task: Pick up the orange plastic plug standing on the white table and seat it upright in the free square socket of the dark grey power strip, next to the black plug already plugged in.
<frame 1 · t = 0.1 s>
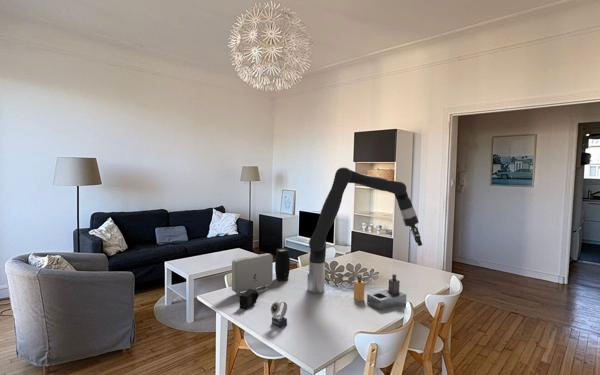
hand: (419, 243, 182), 31 cm above the table, tool tilted 20°, fingers open, 8 cm apart
network device: (252, 290, 192), on the table
portable speaker: (282, 279, 213), on the table
orange plug: (358, 299, 182), on the table
twin plug: (393, 298, 180), point 2 cm above the table, touching pdu strip
watch: (279, 325, 151), on the table
digital camera: (249, 306, 171), on the table
pdu strip: (386, 303, 178), on the table
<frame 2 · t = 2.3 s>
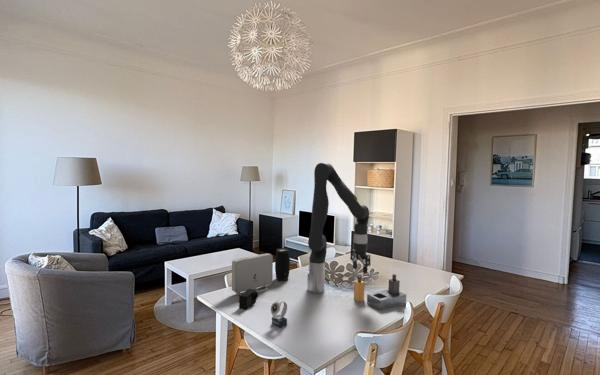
hand: (359, 270, 181), 16 cm above the table, tool pointing down, fingers open, 8 cm apart
nothing on the table moved.
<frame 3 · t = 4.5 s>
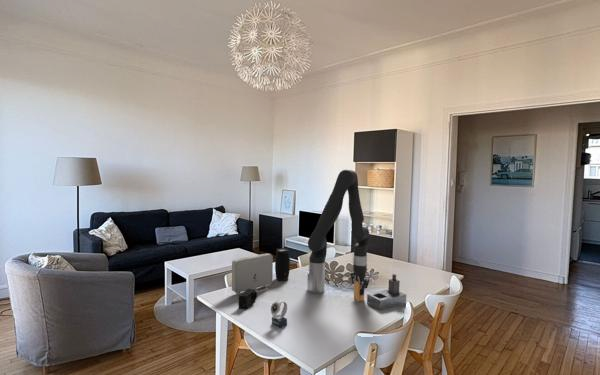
hand: (359, 293, 182), 3 cm above the table, tool pointing down, fingers closed on orange plug, 4 cm apart
orange plug: (358, 299, 182), on the table, touching gripper
everything else where it was.
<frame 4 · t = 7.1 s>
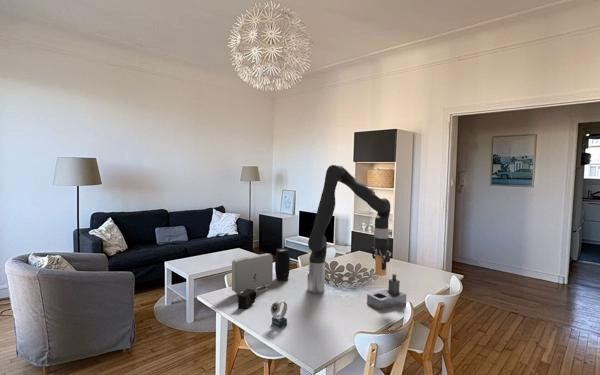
hand: (380, 268, 174), 20 cm above the table, tool pointing down, fingers closed on orange plug, 4 cm apart
orange plug: (380, 274, 174), point 17 cm above the table, touching gripper
everything else where it was.
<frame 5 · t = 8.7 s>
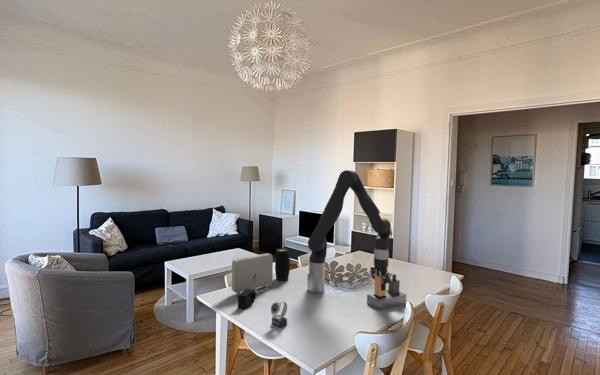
hand: (380, 288, 175), 9 cm above the table, tool pointing down, fingers closed on orange plug, 4 cm apart
orange plug: (380, 294, 175), point 6 cm above the table, touching gripper
when the fingers open (6 cm above the table, at t = 9.9 s): orange plug stays where it is, resting on pdu strip.
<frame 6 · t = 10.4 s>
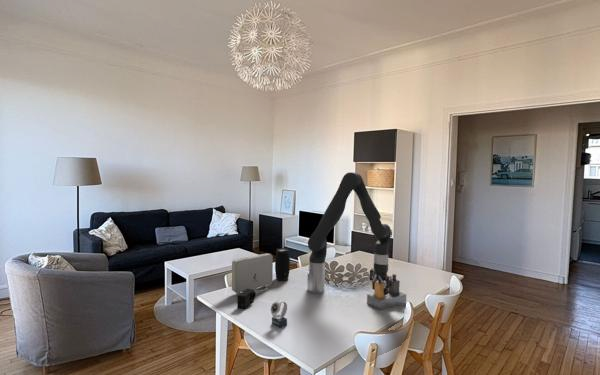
hand: (379, 292, 175), 7 cm above the table, tool pointing down, fingers open, 8 cm apart
orange plug: (379, 301, 175), point 2 cm above the table, touching pdu strip
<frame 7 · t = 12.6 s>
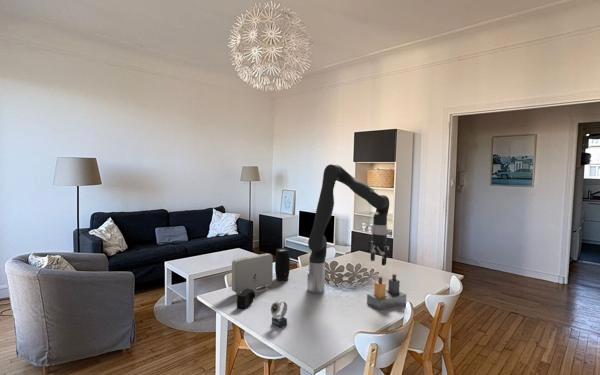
hand: (378, 262, 175), 22 cm above the table, tool pointing down, fingers open, 8 cm apart
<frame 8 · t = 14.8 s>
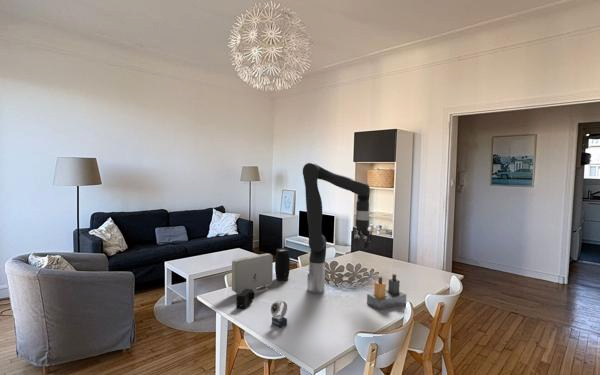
hand: (361, 246, 186), 28 cm above the table, tool pointing down, fingers open, 8 cm apart
at the end: orange plug 0.0 cm from the target spot on the pdu strip, point 2.0 cm above the pdu strip's base; orange plug tilted 0°; the gripper is holding nothing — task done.
